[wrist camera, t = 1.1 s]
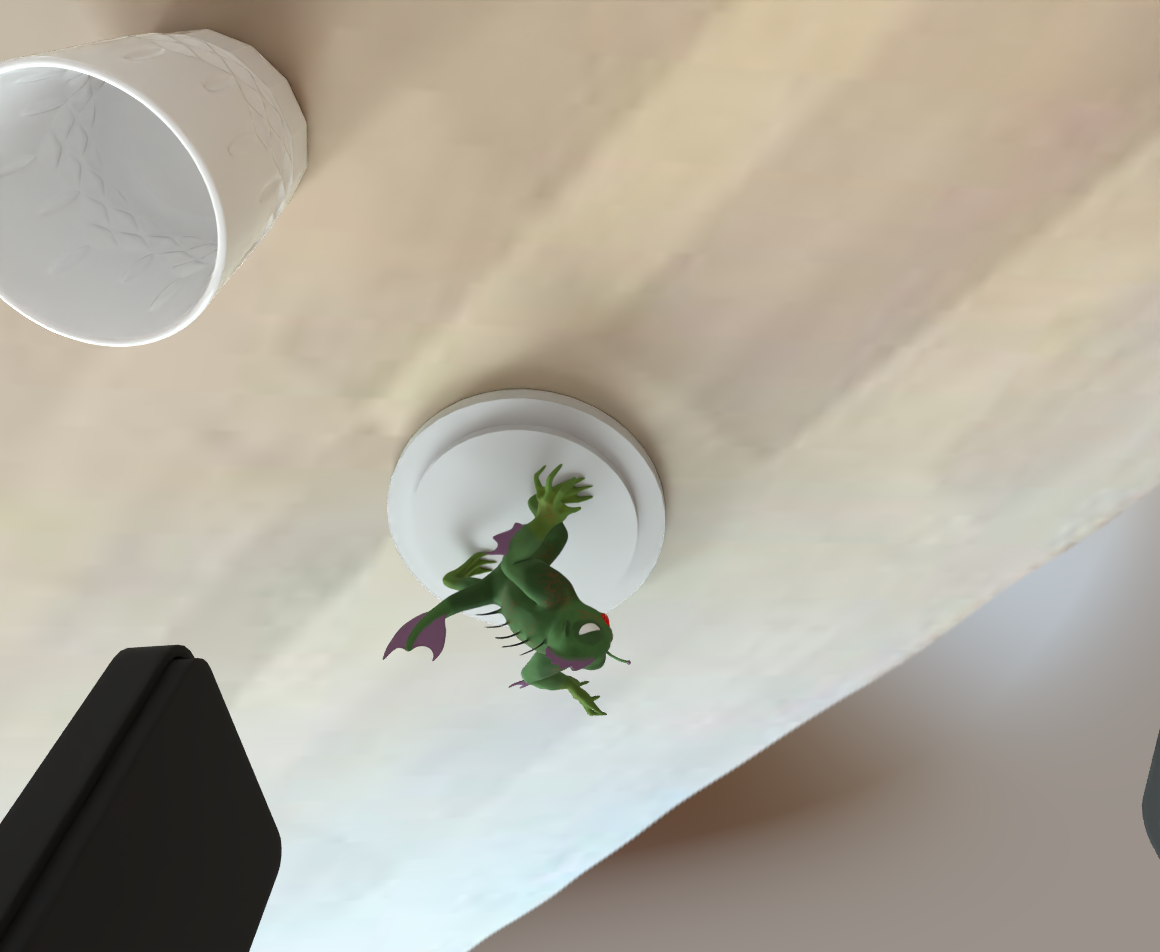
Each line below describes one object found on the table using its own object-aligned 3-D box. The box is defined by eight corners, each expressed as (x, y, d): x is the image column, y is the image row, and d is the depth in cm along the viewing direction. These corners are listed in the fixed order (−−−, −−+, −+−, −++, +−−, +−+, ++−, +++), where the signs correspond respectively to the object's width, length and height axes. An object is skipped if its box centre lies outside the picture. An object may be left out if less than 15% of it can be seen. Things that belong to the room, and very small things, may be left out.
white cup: (348, 61, 34) (248, 125, 25) (301, 268, 38) (202, 383, 29) (117, -29, 32) (-69, 5, 24) (95, 193, 36) (-72, 291, 28)
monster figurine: (675, 609, 45) (684, 785, 37) (423, 626, 47) (373, 800, 38) (651, 375, 39) (654, 520, 30) (361, 403, 41) (284, 549, 32)
